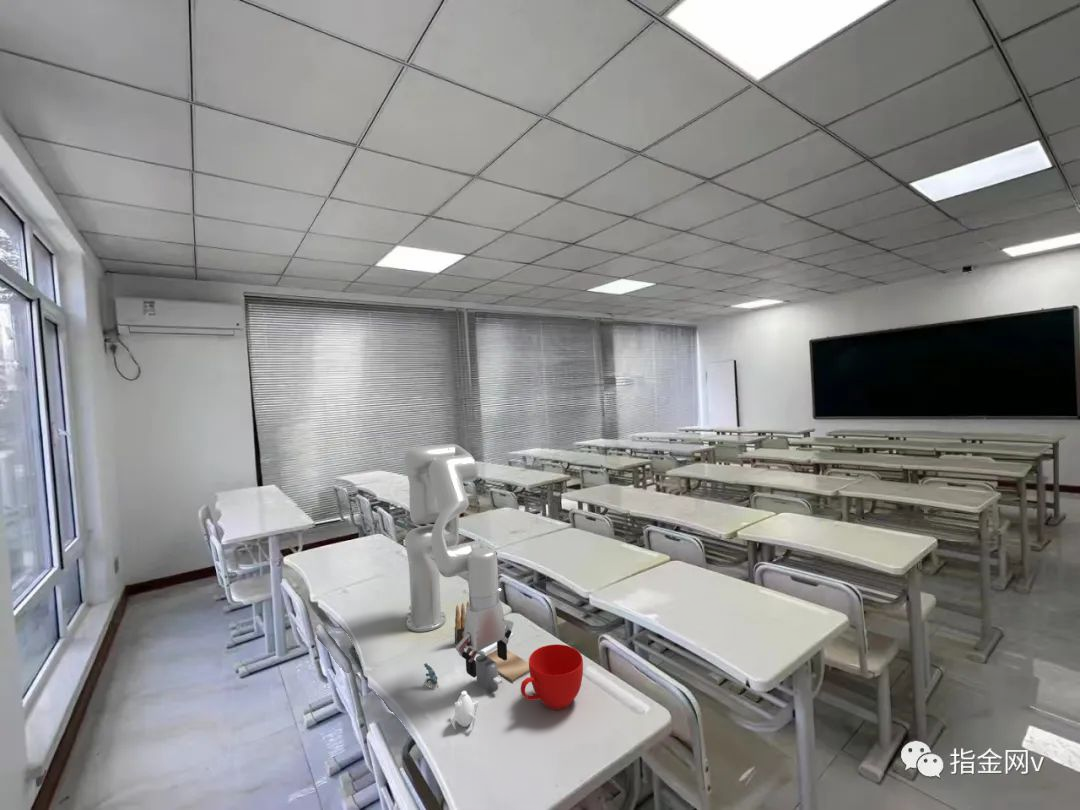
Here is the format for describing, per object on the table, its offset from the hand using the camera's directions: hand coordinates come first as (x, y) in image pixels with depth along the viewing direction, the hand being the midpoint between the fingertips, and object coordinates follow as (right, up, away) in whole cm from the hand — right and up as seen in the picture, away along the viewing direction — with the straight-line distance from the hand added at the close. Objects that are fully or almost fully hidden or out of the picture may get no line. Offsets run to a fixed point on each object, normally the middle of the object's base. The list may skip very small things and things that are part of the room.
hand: (487, 666), depth 114 cm
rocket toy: (-3, -6, -13) cm, 15 cm away
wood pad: (+4, -5, +9) cm, 11 cm away
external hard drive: (-2, -6, +21) cm, 22 cm away
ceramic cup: (+16, -5, -8) cm, 18 cm away
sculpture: (-15, -6, +2) cm, 16 cm away
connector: (0, -5, +1) cm, 5 cm away
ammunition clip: (-7, -5, +23) cm, 24 cm away
